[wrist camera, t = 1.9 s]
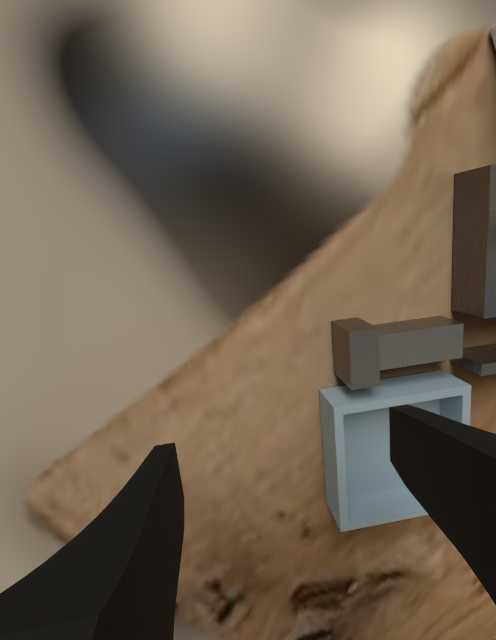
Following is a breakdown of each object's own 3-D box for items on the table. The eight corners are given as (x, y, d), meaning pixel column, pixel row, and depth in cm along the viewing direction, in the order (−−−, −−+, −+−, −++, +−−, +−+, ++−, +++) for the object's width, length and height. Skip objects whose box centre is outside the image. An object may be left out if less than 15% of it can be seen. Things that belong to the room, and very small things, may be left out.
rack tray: (440, 480, 25) (466, 506, 22) (326, 502, 24) (340, 532, 21) (442, 369, 23) (471, 385, 20) (318, 389, 22) (333, 407, 20)
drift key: (439, 356, 23) (470, 371, 20) (334, 372, 22) (351, 390, 19) (440, 306, 22) (472, 314, 19) (331, 321, 21) (349, 332, 19)
